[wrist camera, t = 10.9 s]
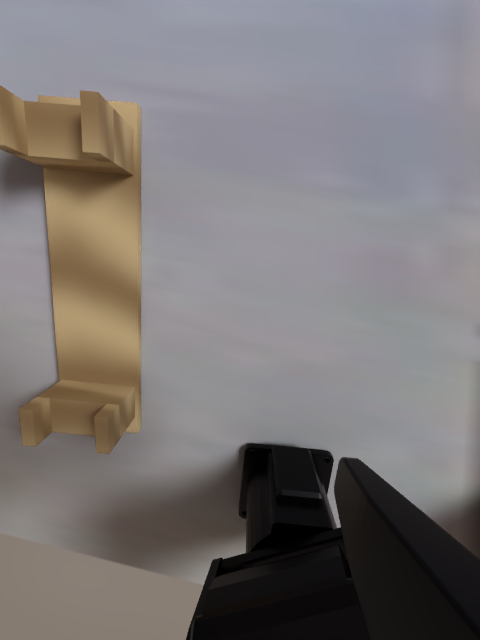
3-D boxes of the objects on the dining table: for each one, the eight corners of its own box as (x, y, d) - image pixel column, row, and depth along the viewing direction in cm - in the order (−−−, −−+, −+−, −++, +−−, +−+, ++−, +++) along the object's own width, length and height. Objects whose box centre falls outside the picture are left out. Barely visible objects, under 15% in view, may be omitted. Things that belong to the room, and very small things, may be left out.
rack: (140, 428, 21) (113, 472, 17) (67, 420, 21) (21, 463, 17) (140, 108, 16) (101, 56, 12) (45, 100, 16) (-29, 46, 12)
